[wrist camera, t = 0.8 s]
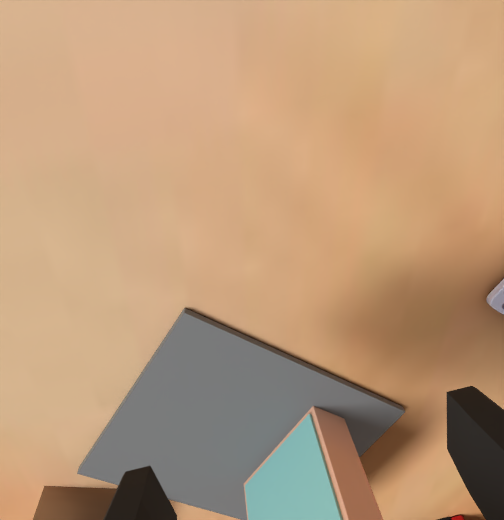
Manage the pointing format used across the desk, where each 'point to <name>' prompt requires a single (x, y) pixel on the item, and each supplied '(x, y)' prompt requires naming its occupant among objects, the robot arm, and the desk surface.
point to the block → (312, 476)
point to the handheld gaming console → (453, 518)
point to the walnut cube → (73, 503)
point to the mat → (222, 414)
